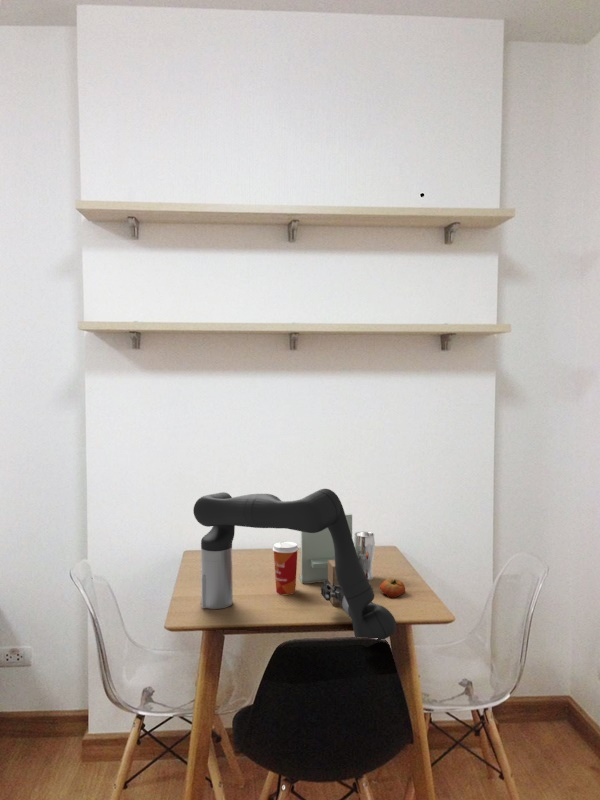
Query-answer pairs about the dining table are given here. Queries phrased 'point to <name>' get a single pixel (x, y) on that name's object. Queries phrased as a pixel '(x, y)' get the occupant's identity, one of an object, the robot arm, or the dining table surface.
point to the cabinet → (332, 580)
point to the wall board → (317, 554)
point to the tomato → (392, 588)
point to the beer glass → (365, 551)
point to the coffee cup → (285, 566)
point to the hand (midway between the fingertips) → (340, 582)
